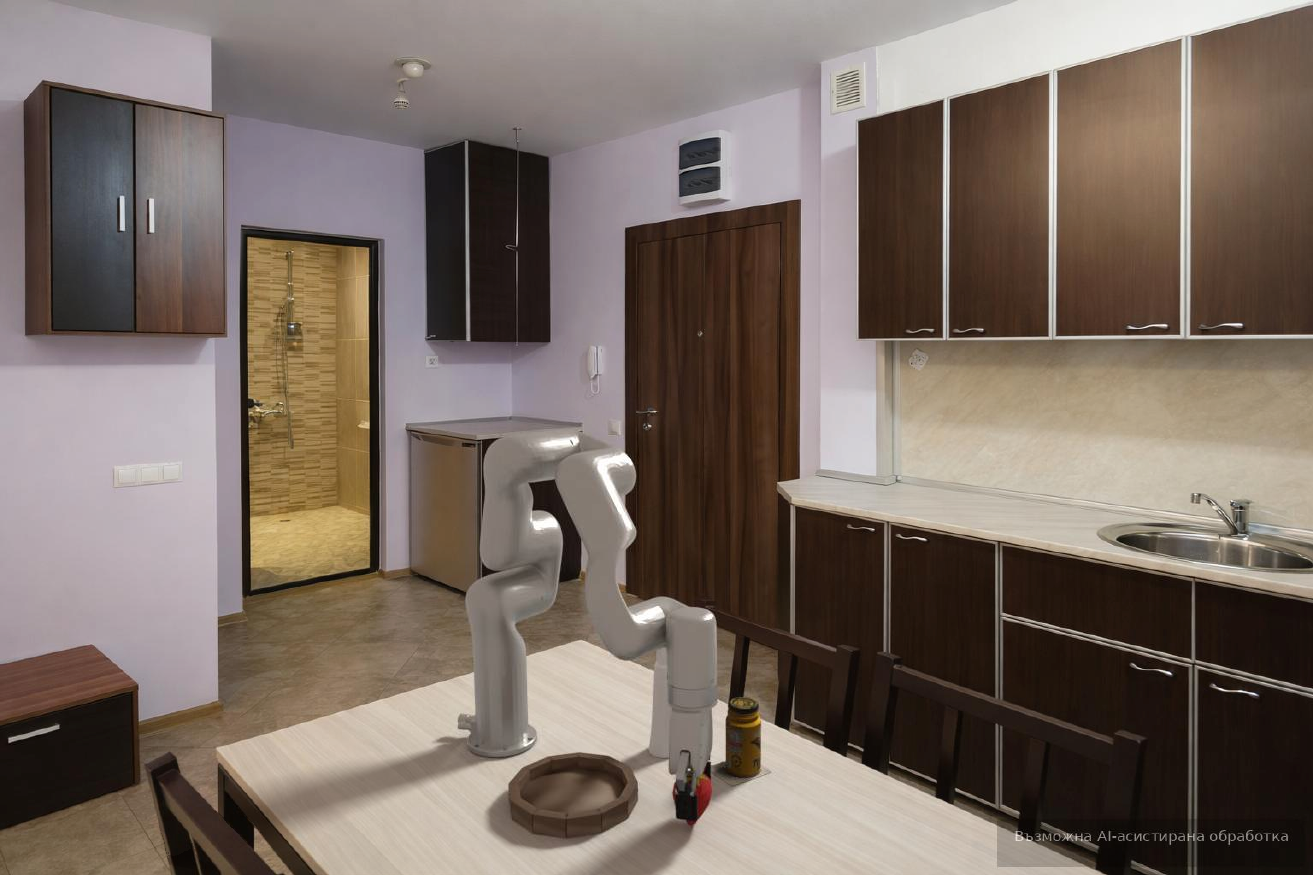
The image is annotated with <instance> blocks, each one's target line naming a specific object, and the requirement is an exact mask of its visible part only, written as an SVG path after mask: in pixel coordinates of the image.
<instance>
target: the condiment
mask: <svg viewBox="0 0 1313 875" xmlns="http://www.w3.org/2000/svg"><path fill="white" fill-rule="evenodd" d="M727 703H728V704H727V715H726V716H725V725H724V726H725V761H720V762H718V763H715V764H711V774H714V775H715V776H716V777H718V778H719V779H721V780H722V781H724V782H726V784H728V785H730V786H731V787H734V786H736V785H739V784H741V783H745V782H747V781H751V780H753V779H754V780H755V779H757V778H759V777H762V776H763V777H764V776H765V775H767V774H770V773H771V772H772V771H771V770H770V769H768V768H766V767H764V766H763V765H761V764H762V738H761V737H762V720H761V717H760V712H759V711H760V710H759V709H760V704H759V703H758V701H757V700H755V699H754V698H750V697H746V696H744V697H743V696H739V697H733V698H731V699H730V700H729V701H728V702H727Z"/></svg>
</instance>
